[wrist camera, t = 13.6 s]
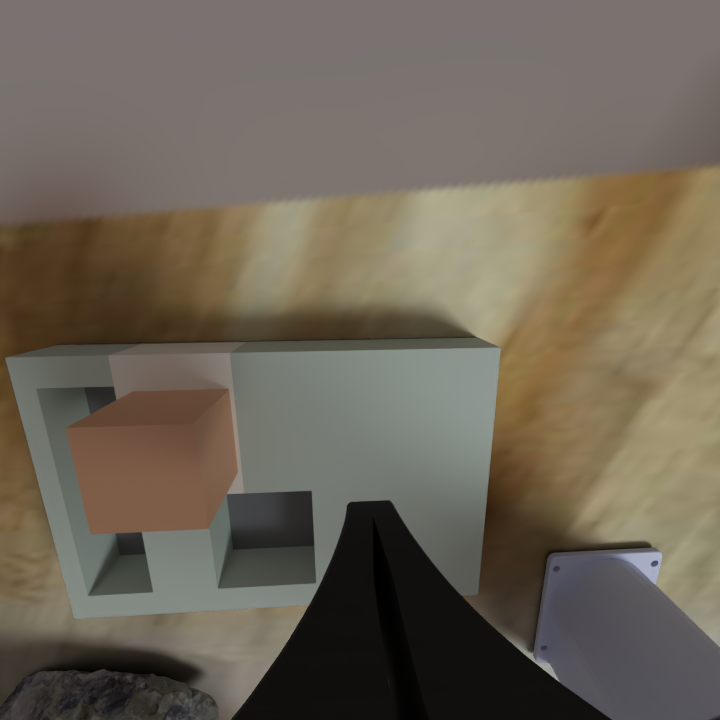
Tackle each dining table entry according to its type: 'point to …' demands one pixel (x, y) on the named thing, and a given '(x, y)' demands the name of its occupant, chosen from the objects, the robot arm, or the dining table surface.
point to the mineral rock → (105, 698)
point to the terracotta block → (155, 460)
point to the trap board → (273, 462)
